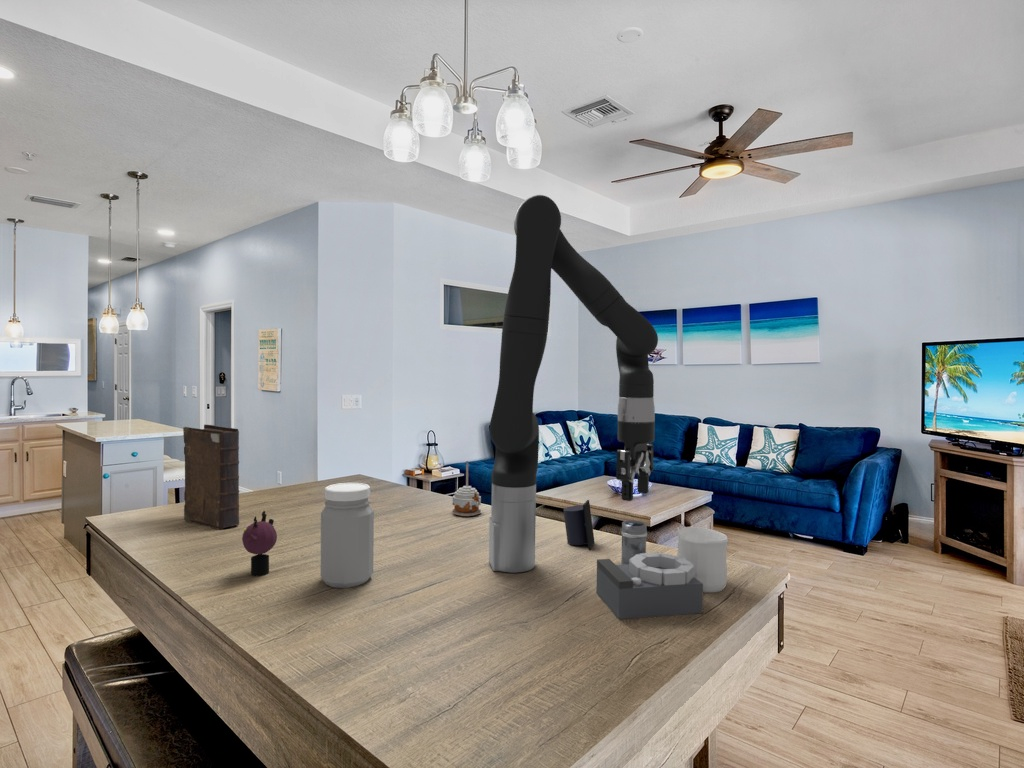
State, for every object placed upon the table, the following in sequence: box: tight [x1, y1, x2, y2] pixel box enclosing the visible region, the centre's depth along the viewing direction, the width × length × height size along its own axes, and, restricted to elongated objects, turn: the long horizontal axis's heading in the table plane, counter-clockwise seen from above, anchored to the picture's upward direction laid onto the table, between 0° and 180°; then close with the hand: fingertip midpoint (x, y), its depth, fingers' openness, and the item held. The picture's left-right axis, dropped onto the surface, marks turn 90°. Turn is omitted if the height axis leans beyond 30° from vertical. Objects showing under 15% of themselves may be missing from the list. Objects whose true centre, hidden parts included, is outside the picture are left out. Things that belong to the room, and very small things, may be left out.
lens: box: [620, 519, 648, 565], centre depth 118 cm, size 5×5×9 cm
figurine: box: [241, 510, 278, 577], centre depth 111 cm, size 8×8×12 cm
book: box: [182, 424, 240, 530], centre depth 146 cm, size 17×7×25 cm, turn 54°
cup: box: [676, 526, 729, 594], centre depth 109 cm, size 10×10×10 cm
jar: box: [320, 482, 375, 589], centre depth 108 cm, size 10×10×18 cm
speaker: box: [563, 499, 596, 551], centre depth 133 cm, size 8×6×10 cm
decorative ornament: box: [452, 460, 482, 517], centre depth 159 cm, size 8×8×15 cm
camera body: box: [595, 552, 704, 620], centre depth 100 cm, size 15×11×7 cm
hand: (635, 496), depth 118 cm, fingers open, 8 cm apart
